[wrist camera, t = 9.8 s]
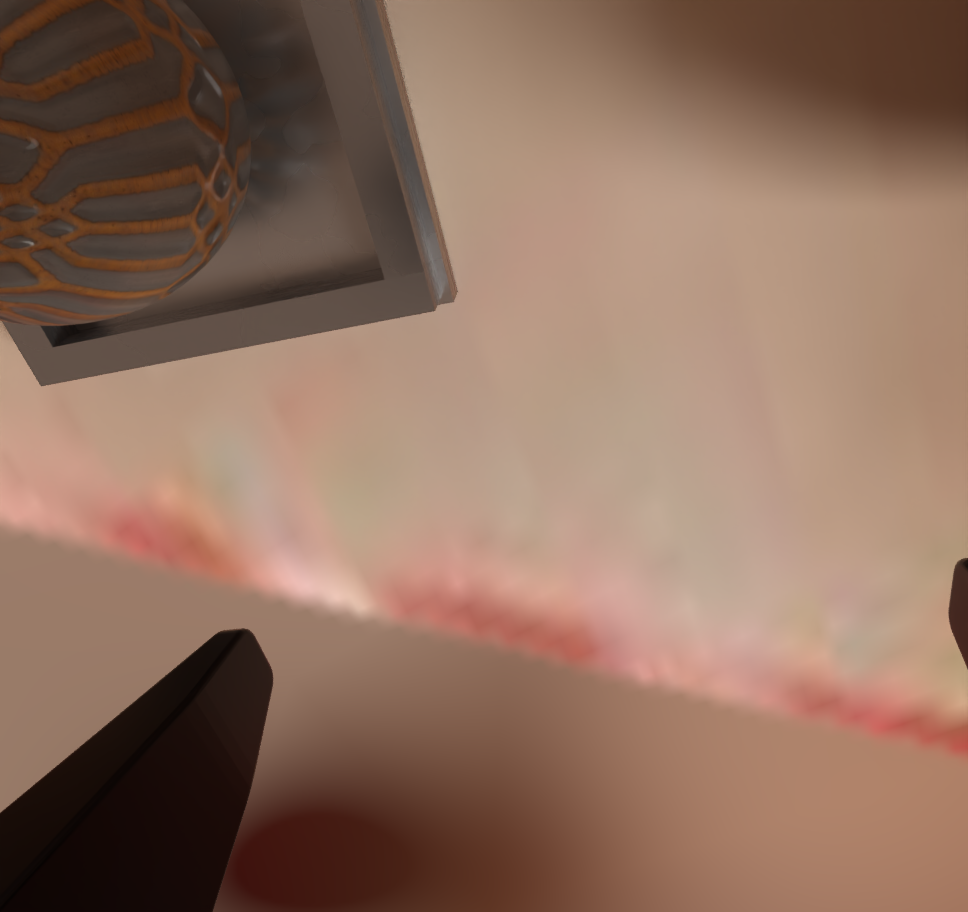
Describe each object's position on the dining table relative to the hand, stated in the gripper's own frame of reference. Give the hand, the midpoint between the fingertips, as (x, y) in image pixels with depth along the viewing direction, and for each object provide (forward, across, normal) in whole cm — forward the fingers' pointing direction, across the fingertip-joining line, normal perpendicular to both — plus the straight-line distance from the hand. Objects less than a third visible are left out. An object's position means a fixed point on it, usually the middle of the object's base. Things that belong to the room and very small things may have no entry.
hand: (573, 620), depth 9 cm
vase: (+11, +9, -7) cm, 16 cm away
